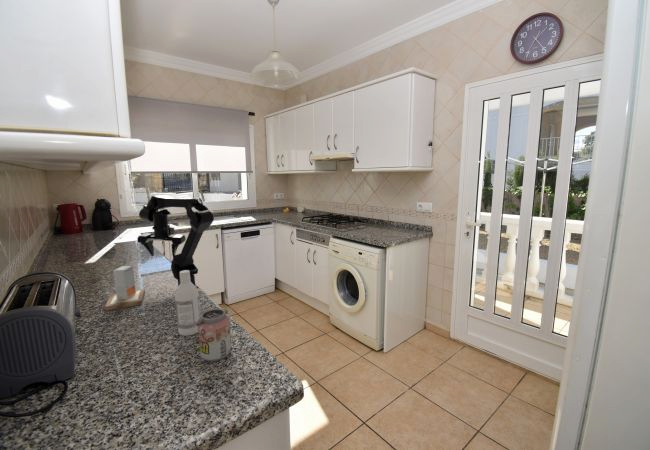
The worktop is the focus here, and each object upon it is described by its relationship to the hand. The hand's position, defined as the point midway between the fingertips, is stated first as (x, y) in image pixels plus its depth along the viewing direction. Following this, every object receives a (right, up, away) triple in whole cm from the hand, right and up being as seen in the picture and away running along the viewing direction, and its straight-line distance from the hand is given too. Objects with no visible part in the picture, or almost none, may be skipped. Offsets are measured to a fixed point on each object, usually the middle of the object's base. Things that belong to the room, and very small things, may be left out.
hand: (163, 256), depth 138 cm
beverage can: (+43, -22, -53) cm, 72 cm away
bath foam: (+31, -20, -41) cm, 55 cm away
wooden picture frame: (-6, -16, -16) cm, 24 cm away
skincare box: (-6, -15, -16) cm, 23 cm away
